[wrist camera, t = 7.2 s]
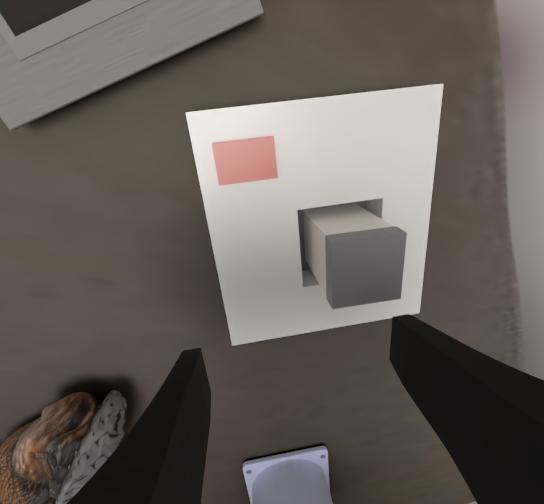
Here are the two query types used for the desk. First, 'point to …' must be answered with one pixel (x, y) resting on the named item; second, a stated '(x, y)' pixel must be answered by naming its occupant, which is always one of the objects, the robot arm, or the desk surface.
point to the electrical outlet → (96, 45)
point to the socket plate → (311, 198)
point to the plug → (354, 255)
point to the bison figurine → (61, 449)
